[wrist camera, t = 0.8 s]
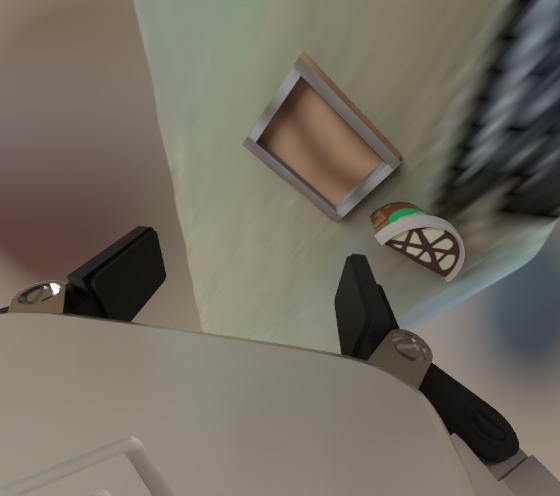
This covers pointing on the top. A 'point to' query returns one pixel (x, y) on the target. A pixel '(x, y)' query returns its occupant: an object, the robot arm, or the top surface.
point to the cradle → (321, 142)
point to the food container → (420, 237)
